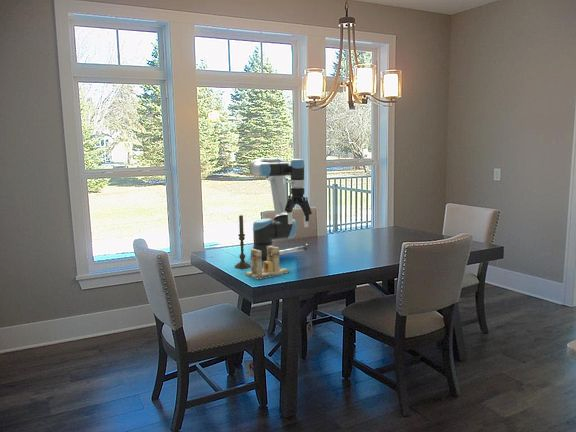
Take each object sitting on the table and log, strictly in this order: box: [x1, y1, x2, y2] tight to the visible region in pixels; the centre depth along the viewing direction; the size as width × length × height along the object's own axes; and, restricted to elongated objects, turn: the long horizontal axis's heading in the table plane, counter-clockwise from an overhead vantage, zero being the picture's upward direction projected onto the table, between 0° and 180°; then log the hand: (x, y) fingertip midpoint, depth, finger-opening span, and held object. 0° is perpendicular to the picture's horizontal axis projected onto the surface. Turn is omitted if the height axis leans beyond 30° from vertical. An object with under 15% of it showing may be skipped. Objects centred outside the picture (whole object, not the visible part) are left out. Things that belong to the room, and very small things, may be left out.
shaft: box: [270, 243, 311, 257], centre depth 260 cm, size 4×26×4 cm, turn 129°
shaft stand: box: [245, 245, 290, 280], centre depth 251 cm, size 12×20×14 cm, turn 129°
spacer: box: [262, 260, 274, 272], centre depth 252 cm, size 5×3×5 cm, turn 39°
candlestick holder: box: [234, 214, 251, 269], centre depth 265 cm, size 9×9×30 cm
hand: (298, 225), depth 262 cm, fingers open, 13 cm apart
